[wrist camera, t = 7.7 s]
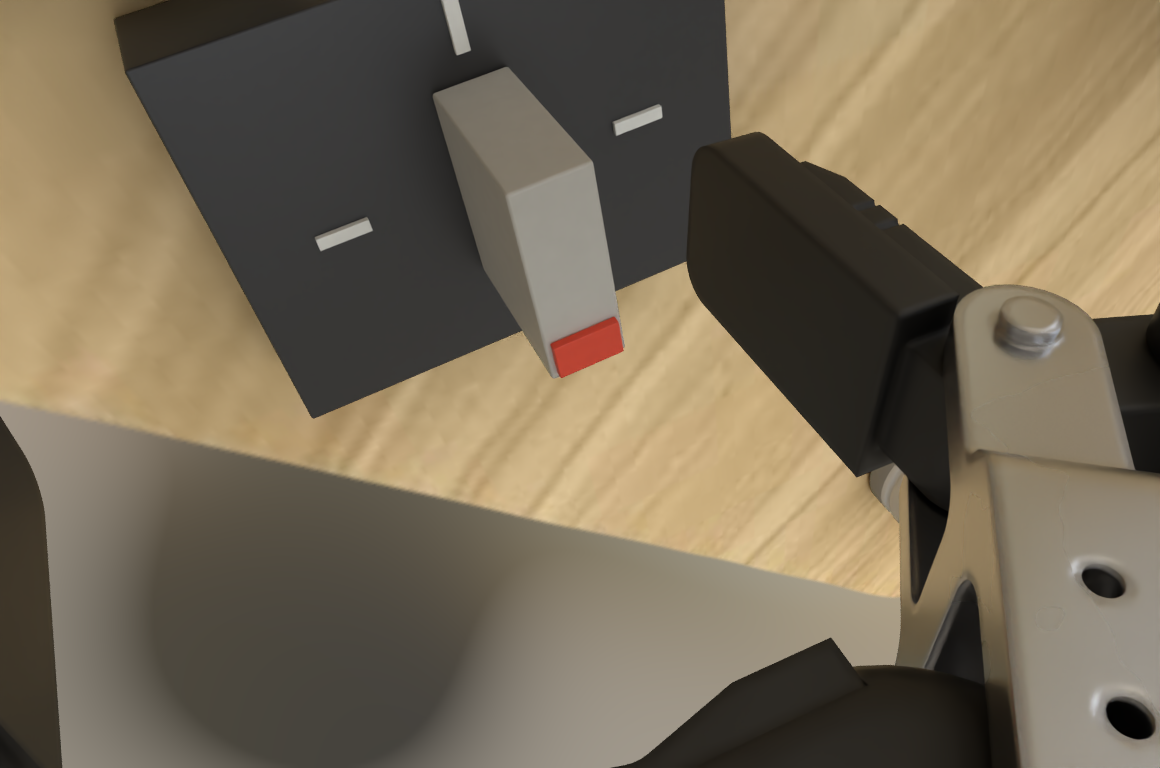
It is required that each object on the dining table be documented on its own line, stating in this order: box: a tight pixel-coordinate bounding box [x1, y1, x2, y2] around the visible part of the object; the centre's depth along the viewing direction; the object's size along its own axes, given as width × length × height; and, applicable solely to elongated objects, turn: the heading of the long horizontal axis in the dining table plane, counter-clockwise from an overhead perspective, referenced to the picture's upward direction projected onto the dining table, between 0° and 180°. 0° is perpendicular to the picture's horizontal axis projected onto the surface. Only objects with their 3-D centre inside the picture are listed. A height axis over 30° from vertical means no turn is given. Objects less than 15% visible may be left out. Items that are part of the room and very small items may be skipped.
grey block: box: [433, 67, 625, 378], centre depth 23 cm, size 6×2×5 cm, turn 9°
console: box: [114, 0, 731, 418], centre depth 26 cm, size 14×11×3 cm
